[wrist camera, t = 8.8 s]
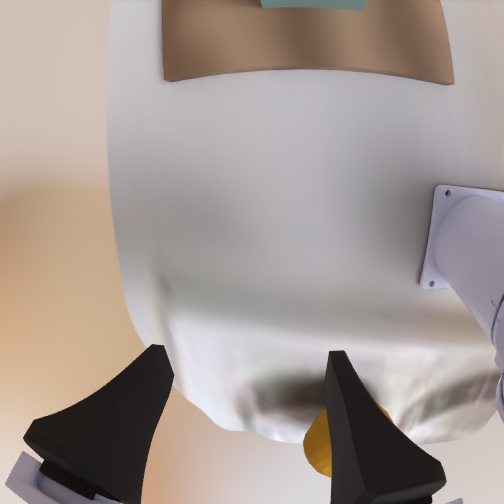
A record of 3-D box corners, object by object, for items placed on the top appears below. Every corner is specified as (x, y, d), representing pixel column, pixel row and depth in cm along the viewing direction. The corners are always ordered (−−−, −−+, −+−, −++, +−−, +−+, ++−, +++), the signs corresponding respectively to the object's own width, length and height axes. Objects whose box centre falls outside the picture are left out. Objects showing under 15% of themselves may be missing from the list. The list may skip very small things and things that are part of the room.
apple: (307, 374, 24) (309, 460, 16) (397, 370, 24) (419, 446, 15) (299, 422, 28) (297, 491, 20) (373, 419, 27) (384, 483, 19)
